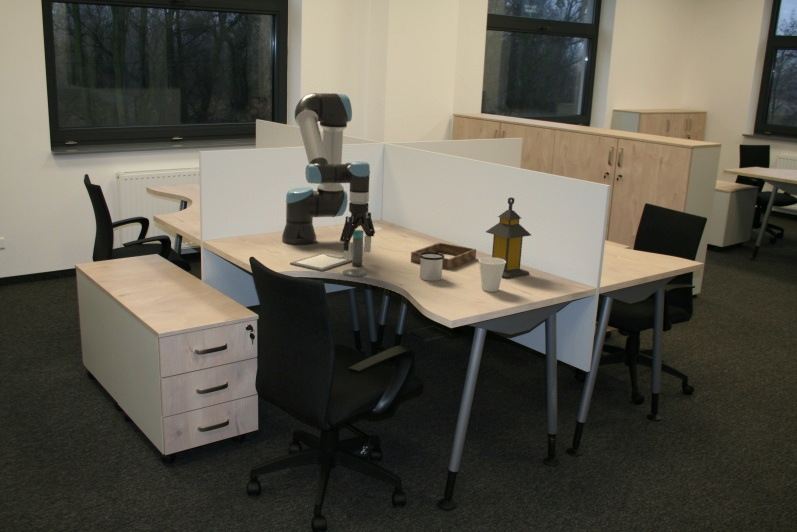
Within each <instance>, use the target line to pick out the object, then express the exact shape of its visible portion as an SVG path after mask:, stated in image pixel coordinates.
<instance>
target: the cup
mask: <svg viewBox="0 0 797 532" xmlns="http://www.w3.org/2000/svg"><path fill="white" fill-rule="evenodd" d="M505 263H506V261H505V260H503V259H500V258H493V257H492V256H490V257H489V256H488V257H487V256H486V257H485V256H484V257H480V258H478V265H479V271H480V286H481V290H482V291H484V292H487V293H495V292H498V291H499V289H500V286H501V281H502V279H503V278H502V274H503V271H504V267H505Z"/></svg>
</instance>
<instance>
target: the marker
mask: <svg viewBox="0 0 797 532" xmlns="http://www.w3.org/2000/svg"><path fill="white" fill-rule="evenodd" d="M351 252H352V253H351V254H352V256H351V258H352V259H351V260H352V262H351V266H352V267H354V266H355V267H354V268H361V267H363V255H364V254H363V252H364V230H363V229H362V230H361V229H355V231H354V233H353V236H352V251H351Z"/></svg>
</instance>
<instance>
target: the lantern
mask: <svg viewBox="0 0 797 532" xmlns="http://www.w3.org/2000/svg"><path fill="white" fill-rule="evenodd" d="M507 204H508V209H507V210H505V211H503V212H502V213H500V215H498V216H497V218H499V222H498V223H497V224H494V225H493V226H492V227H490V228H489V229H487V230H486V231H485V233H487V234H491V235H493V238H492V239H493V241H492V250H491V251H492V252H491V257H493V258H500V259H503V260H505V261H506V263H505V267H504V271H503V274H502V278H501V279H505V280H509V279H515V278H519V277H523V276H529V275H530V271H528V270H525V269H522V268H521V261H522V248H523V238H524V237H530V236H532V234H531V233H530V232H529V231H528V230H526V229H525V227H523V225H522V224H520V220H521V219H522V217H521V216H520V215H519V214H518V213H517V212H516V211H515V210H513V206H514V204H515V198H514V197H508V198H507Z"/></svg>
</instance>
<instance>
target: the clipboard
mask: <svg viewBox="0 0 797 532" xmlns="http://www.w3.org/2000/svg"><path fill="white" fill-rule="evenodd" d="M349 263H352V259H346V258H344V255H340V254H339V255H338V254H333V253H328V254H327V253H326V254H325V253H319V254H315V255H312V256H309V257H305V258H302V259H299V260H294V261H291V262H290V263H289V265H291V266H292V265H293V266H295V267H301V268H305V269H309V270H312V271H313V270H314V271H318V272H325V271H328V270H331V269H333V268H334V269H335V268H337V267H340V266H343V265H346V264H349Z"/></svg>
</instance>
